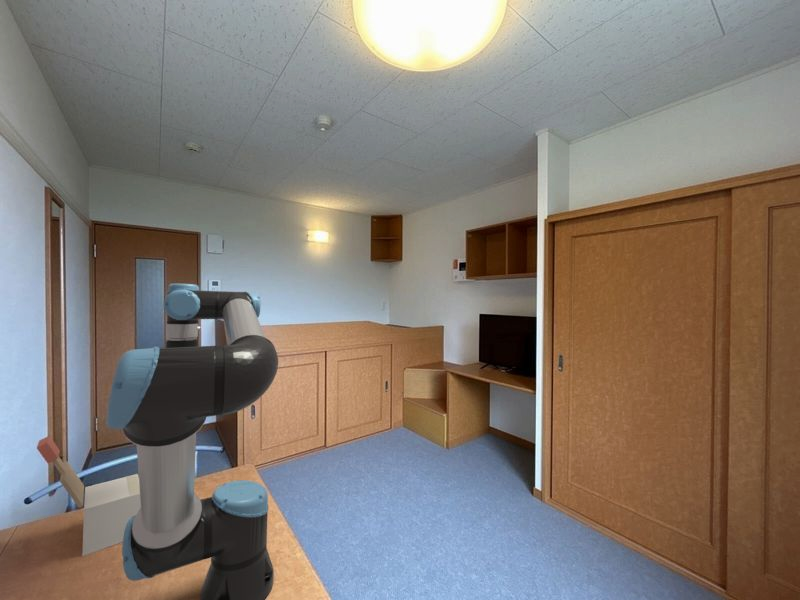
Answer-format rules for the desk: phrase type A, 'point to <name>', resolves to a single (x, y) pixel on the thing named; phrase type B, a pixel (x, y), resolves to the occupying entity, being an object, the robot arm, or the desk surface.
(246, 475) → the desk surface
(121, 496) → the carton
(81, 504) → the flap
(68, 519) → the desk surface
